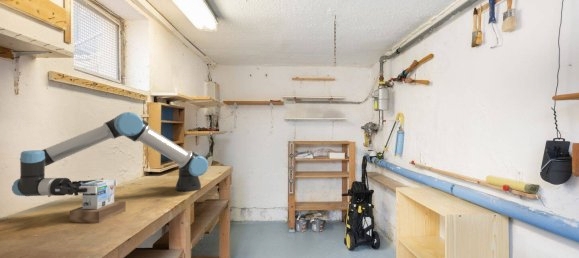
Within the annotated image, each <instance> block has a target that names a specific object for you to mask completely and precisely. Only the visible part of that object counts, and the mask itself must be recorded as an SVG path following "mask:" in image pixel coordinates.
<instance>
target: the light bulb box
mask: <svg viewBox="0 0 579 258" xmlns="http://www.w3.org/2000/svg"><path fill="white" fill-rule="evenodd" d="M95 180H96V181H92V182H88V183H84V184H83V186H97V193H82V205H81V207H82V209H99V208H101V207H104V206H107V205H109V204H112V203H114V201H115V186H114V180H115V179H111V178H110V179H107V178H103V179H102V178H99V179H95Z"/></svg>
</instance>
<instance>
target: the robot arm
mask: <svg viewBox="0 0 579 258" xmlns="http://www.w3.org/2000/svg"><path fill="white" fill-rule="evenodd" d="M123 136H124V137H125V138H128V139H129V140H131V141H133V142H135V143H136V142H140V143H142V144H144V145H145V146H147V147H149V148H150V149H152V150H154V151H155V152H157V153H159V154H161V155H163V156H164V157H166V158H168V159H169V160H171V161H173V162H174V163H176V164H177V165H178V178H177V181H176V184H175V191H177V192H192V191H198V190H201V189H202V183H201V182H200V181H201V180H200V178H199V177H200V176H203V175H205V173H206V172H207V171H208V169H209V161H208V160H207V158H206V157H204V156H202V155H199V153H198V152H195V151H193V150H186V149H184V148H183V147H182V146H180V145H178V144H176V143H175V142H174V141H172V140H170V139H169V138H166V136H164V135H162V134H161V133H159V132H157V131H156V130H154V129H153V128H151V127H150V123H149V122H147V121H146V120H144V119H143V118H141V116H139V115H138V114H137V113H135V112H132V111H131V112H130V111H128V112H122V113H120V114H118V115H117V116H115V117H114V118H112V119H110V120H108V121H106V122H104V123H103V125H101V126H99V127H96V128H94V129H91V130H88V131H86V132H84V133H80V134H78V135H76V136H74V137H71V138H69V139H66V140H64V141H61V142H59V143H56V144H54V145H51V146H49V147H46V148H44V149H42V150H41V149H40V150H23V151H21V152H20V158H19V162H20V164H19V165H20V166H19V167H20V176H19V178H17V179H16V180H15V181H14V182H13V185H11V191H12V193H13V194H14V195H16V196H19V197H20V196H21V197H39V196H41V197H43V196H45V197H46V196H47V197H48V198H50V197H52V196H55V197H56V196H66V195H68V196H75V197H76V196H79V194H83V193H97V186H83V184H84V183H88V182H92V181H96V180H97V179H91V180H78V181H77V180H74V181H71V179H70V178H67V177H46V176H45V175H46V174H45V169H46V168H45V167H47V166H49V165H52V164H54V163H55V162H58V161H61V160H63V159H65V158H67V157H69V156H72V155H75V154H77V153H79V152H82V151H83V150H84V151H85V150H87V149H88V148H91V147H93V146H96V145H98V144H100V143H102V142H105V141H107V140H111V139H113V140H115V139H117V138H120V137H123ZM101 179H104V178H101ZM117 186H118V180H117V179H114V187H117Z"/></svg>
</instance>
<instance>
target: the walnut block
mask: <svg viewBox="0 0 579 258" xmlns="http://www.w3.org/2000/svg"><path fill="white" fill-rule="evenodd" d="M126 206H127V205H126V201H118V200H116V201H115V200H114V203H112V204H109V205H107V206H104V207H101V208H99V209H82V206H79V207H77V208H74V209H71V210H69V222H70V223H72V222H73V223H94V224H97V223H98V224H100V223H102V222H104V221H107V220H109V219H111V218H113V217H116V216H119V215H120V214H122V213H125V212H126Z"/></svg>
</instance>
